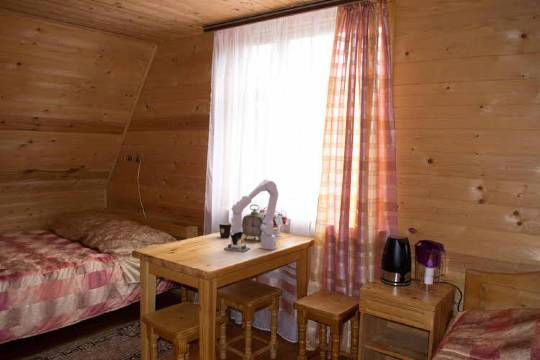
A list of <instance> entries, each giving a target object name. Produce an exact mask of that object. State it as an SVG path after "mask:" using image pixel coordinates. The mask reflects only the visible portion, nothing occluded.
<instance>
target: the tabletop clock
mask: <svg viewBox="0 0 540 360" xmlns="http://www.w3.org/2000/svg"><path fill="white" fill-rule="evenodd" d="M252 206H255V207H258V208H257V209H256V208H251V207H252ZM249 209H250V210H251V213H249V214H246V215H244V216H243V217H242V222H241V228H243V231H242V232H243V235H244V236H245V237H244V238H243V239H244V240H245V241H246V240H247V238H248V237H253V240H256V238H257V237H258V241H259V242H261V233H262V231H261V229H260V227H261V225H262V223H263V220H264V219H265V216H264V215H262V214H259V213H258V211H259V210H260V205H258V204H250V205H249Z"/></svg>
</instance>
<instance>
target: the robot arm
mask: <svg viewBox="0 0 540 360" xmlns="http://www.w3.org/2000/svg"><path fill="white" fill-rule="evenodd" d="M262 192H267V193H268V194H269V198H268V203H267V207H266V211H265V212H266V213H265V216H264V217H265V219H264V220H263V223H262V225H261V227H260V229H261V231H262V233H261V236H260V239H261V241H260V246H259V247H258V249H262V250H264V249H265V250H270V251H272V250H274V249H276V248H277V235H275V234H274V231H275V229H274V217H275V216H274V215H275V211H276V207H277V202H278V198H279V190H278V188H277V184H276V182H275V181H272V180H269V179H263V181H262V182H260V183H259V184H258V185H257V186H256V187H255V188H254V189H253V190H252V191H251V192H250V193H249V194H248V195H243V196H242V197H241V199H240V200H239V201H236V203H234V204H233V205H232V207H231V211H232V220H231V221H232V223H231V226H232V227H231V230H230V238H231V240H232V241H233V245H237V240H238V238H240V239H241V240H242V237H243V235H244V234H243V228H242V223H243V217H242V213H243V212H244V209H245V208H247V207H248V206H250V205H251V203H252V199H254V198H255V197H256V196H257V195H259V194H260V193H262Z"/></svg>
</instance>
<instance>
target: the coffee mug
mask: <svg viewBox="0 0 540 360" xmlns="http://www.w3.org/2000/svg"><path fill="white" fill-rule="evenodd" d="M218 225H219V236H220V237H219V238H221V239H230V238H231V236H230V232H231V229H232V223H231V222H227V221H225V222H223V221H222V222H219V224H218ZM229 237H230V238H229Z"/></svg>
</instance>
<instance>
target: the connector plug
mask: <svg viewBox="0 0 540 360" xmlns="http://www.w3.org/2000/svg"><path fill="white" fill-rule="evenodd" d="M230 241H231V242H230V244H231V247H237V248H239V247H242V238H241V239H240V238H238V240H237V245H233V241H232V239H231V240H230Z"/></svg>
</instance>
